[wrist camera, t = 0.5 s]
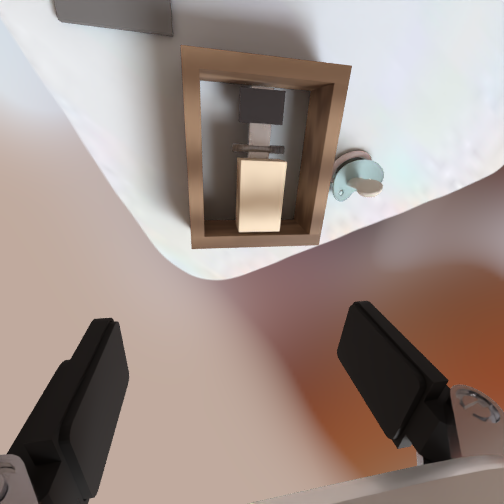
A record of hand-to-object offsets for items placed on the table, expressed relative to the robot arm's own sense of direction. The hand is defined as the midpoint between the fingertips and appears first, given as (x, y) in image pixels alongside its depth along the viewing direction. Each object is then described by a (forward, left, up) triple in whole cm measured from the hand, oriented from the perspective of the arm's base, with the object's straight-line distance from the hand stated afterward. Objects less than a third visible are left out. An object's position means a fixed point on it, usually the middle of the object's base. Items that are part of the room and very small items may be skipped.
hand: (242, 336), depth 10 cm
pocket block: (-4, +5, -26) cm, 27 cm away
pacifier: (-3, +19, -26) cm, 33 cm away
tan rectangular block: (-1, +5, -23) cm, 23 cm away
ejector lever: (-4, +5, -23) cm, 24 cm away
